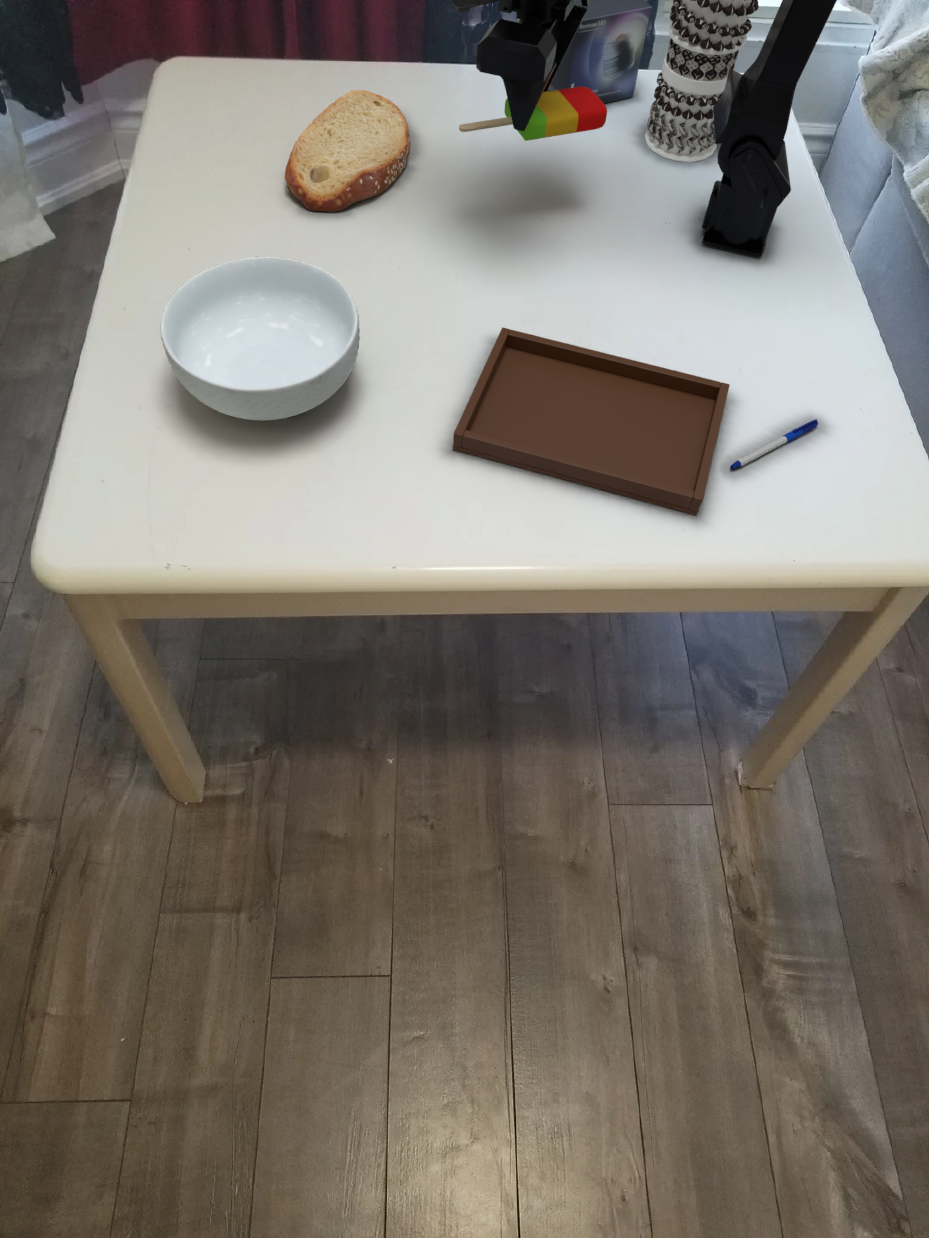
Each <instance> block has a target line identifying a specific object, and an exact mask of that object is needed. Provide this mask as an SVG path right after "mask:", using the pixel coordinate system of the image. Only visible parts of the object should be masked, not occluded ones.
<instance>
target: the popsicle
mask: <svg viewBox="0 0 929 1238" xmlns="http://www.w3.org/2000/svg"><path fill="white" fill-rule="evenodd" d="M504 116H505V117H500V118H499V117H498V118H494V119H488V120H480V121H473V122H468V123H467V122H466V123H461V124H459V126H458V130H459V131H460V132H462V133H466V132H467V133H468V132H475V131H480V130H486V129H492V128H498V127H504V126H513V123H512V118H511V113H510V108H509V103H508V98H507V97H506V99H505V101H504ZM607 116H608V108H607V106H606V103H603V102H602V101H601V100H600V99H599V98H598V96H597V95H596V94H595V93H594V92H593V91H592V90H591V89H589V88H587V87H574V88H567V89H561V90H554V91H548V92H543V93H542V95H541V97H540V100H539V102H538V104H537V106H536V108H535V110H534V112H533V114H532V117H531V119H530V121H529V123H528V125H527V127H526V129H525V130H524V131H519V130H516V131H517V132H518V134H519V135H520V137H521V138H522V139H523V140H524V141H525V142H527V141H534V140H538V139H539V140H540V139H545V138H551V137H558V136H563V135H570V134H576V133H582V132H588V131H594V130H599V129H600V128H601V129H602V128H603V127H604V125H605V124H606V121H607Z"/></svg>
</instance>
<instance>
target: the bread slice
mask: <svg viewBox="0 0 929 1238" xmlns="http://www.w3.org/2000/svg"><path fill="white" fill-rule="evenodd" d="M410 151H411V138H410V130H409V125H408V122H407V120H406V117H405V115H404V114H403V113H402V111H401V109H400V108H399V106H398V105H396V104H395V103H394V102H392V101H391V100H390V99H388V98H386V97H384V96H382V95H380V94H379V93H378V94H377V93H374V92H371V91H368V90H360V89H358V90H357V89H356V90H355V89H353V90H350V91H349V92H347V93H346V94H343V95H342V96H339V97H338V98H337V99H336V100H335V101H334V102H332V103H331V104H329V105H328V106H327V107H326V108H325V109H324V110H323V111H322V112H321V113H320V114H318V115H317V117H315V118H314V119H313V121H312V122H311V123H310V124H308V126H307V127H306V128H305V129H304V130H303V132H302V133H301V134H300V135H299V137H298V139H297V140H296V141H295V142H294V144H293V147H292V150H291V152H290V154H289V158H288V161H287V163H286V166H285V170H284V180H285V183H286V185H287V186H288V188H289V190H290V192H291V194H292V195H293V196H294V197H295V198H296V199H298V200H299V201H300V202H301V203H302V205H303V206H304V208H306V209H308V210H310V211H313V212H341V211H344V210H346V208H347V207H349V206H350V205H352V204H354V203H358V202H360V201H364V200H367V199H371V198H373V197H375V196H378V195H380V194H381V193H383V192H385V191H386V190H387V189H388V188H389V187H390V185H391V184H393V182H394V183H395V181H396V179H398V177H399V176H400V174H401V173H402V171H403V170H405V168H406V163H407V160H408V155H409V154H410Z"/></svg>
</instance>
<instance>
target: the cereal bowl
mask: <svg viewBox="0 0 929 1238" xmlns="http://www.w3.org/2000/svg"><path fill="white" fill-rule="evenodd" d="M359 317H360V315H359V313H358V308H357V305H356V302H355V300H354V297H353V295H352V294H351V292H350V291H349V290H348V288H347V287H346V286H345V285H344V283H343V282H342V281H340V280H339V278H337V277H336V276H334V275H333V274H331V273H330V272H328V271H327V270H325V269H323V268H322V267H319V266H317V265H314V264H312V263H309V262H306V261H302V260H299V259H294V258H289V257H282V256H252V257H250V256H249V257H244V258H238V259H234V260H230V261H225V262H223V263H219V264H216V265H214V266H211V267H208V268H206V269H204V270H202V271H200V272H198V273H197V274H195V275H194V276H192V277H191V278H189V279H188V280H186V281H185V282H184V283H183V284H181V285H180V286H179V288H177V289H176V290H175V291H174V293H172V295H171V296H170V298H169V299H168V301H167V303H166V304H165V307H164V309H163V310H162V316H161V319H160V339H161V342H162V347H163V349H164V352H165V355H166V357H167V360H168V363H169V365H170V366H171V369H172V371H173V373H174V374H175V377H176V378H177V379H178V381H179V382H180V383H181V385H182V386H183V387H184V388H185V389H186V390H187V391H188V392H189V394H191V395H192V396H193V397H194V398H196V399H197V400H198V401H199V402H200V403H202V404H203V405H204V406H207V407H209V408H210V409H212V410H214V411H217V412H218V413H220V414H223V415H226V416H231V417H233V418H237V419H242V420H246V421H247V420H248V421H250V420H252V421H264V422H265V421H272V420H273V421H276V420H281V419H287V418H291V417H295V416H298V415H300V414H304V413H306V412H308V411H310V410H313V409H314V408H316V407H318V406H320V405H322V404H323V403H324V402H325V401H327V400H328V399H330V398H331V397H332V396H333V395H335V394H336V392H337V391H338V390H339V389H341V388H342V386H343V385H344V384H345V382H347V380H348V378H349V377H350V375H351V372H352V371H353V369H354V365H355V363H356V361H357V357H358V354H359V353H358V352H359V349H360V339H361V337H360V332H361V329H360V319H359Z"/></svg>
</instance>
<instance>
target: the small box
mask: <svg viewBox="0 0 929 1238" xmlns="http://www.w3.org/2000/svg"><path fill="white" fill-rule="evenodd" d="M575 5H579V6H582V2H581V0H577V1H576V3H575ZM584 7H586V6H584ZM586 8H587V13H586V15H585V17H584V19H583V21H582V23H581V25H580V27H579V29H578V31H577V33H576V35H575V37H574V39H573V41H572V43H571V45H570V47H569V49H568V51H567V53H566V55H565V56H564V58H563V60H562V62H561V64H560V66H559V68H558V71H557V73H556V75H555V77H554V79H553V81H552V83H551V85H550V87H549V89H548V91H554V90H561V89H567V88H574V87H587V88H589V89H591V90H592V91H593V92H594V93H595V94H596V95H597V96H598V98H599V99H600V100H601V101H602V102H603V103H604V104H606V103H611V102H616V101H620V100H625V99H630V98H633V97H634V94H635V88H636V84H637V78H638V74H639V69H640V63H641V60H642V54H643V50H644V46H645V45H644V44H645V40H646V36H647V31H648V26H649V21H650V16H651V11H652V8H653V6H652V5H650V3H648V2H647V1H646V0H592V1H591V2H590V4H589V6H588V7H586ZM548 91H547V92H548Z"/></svg>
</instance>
